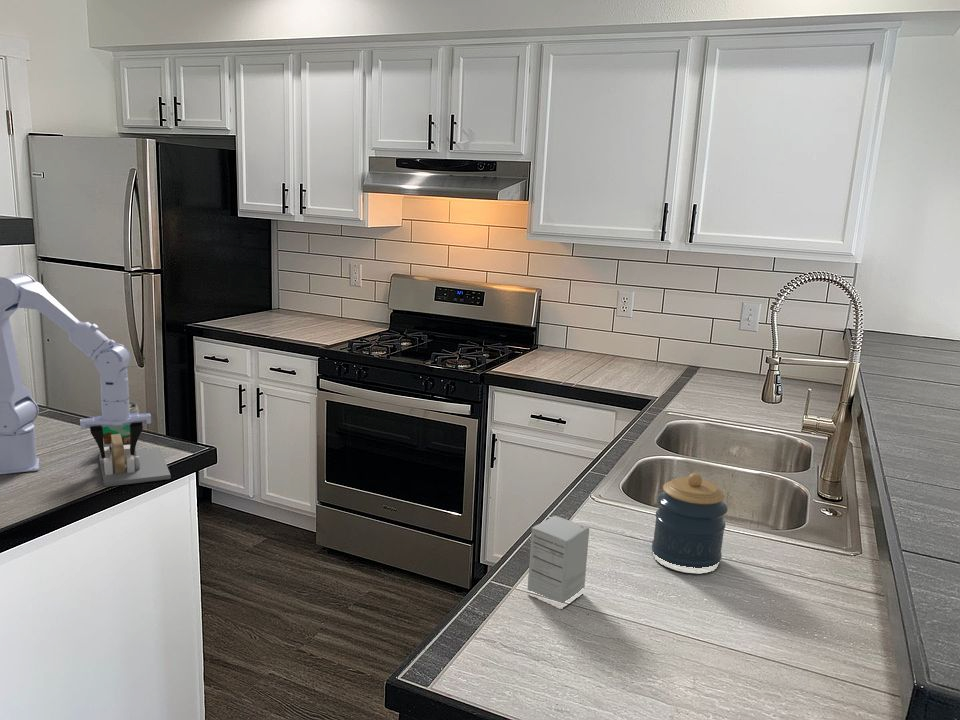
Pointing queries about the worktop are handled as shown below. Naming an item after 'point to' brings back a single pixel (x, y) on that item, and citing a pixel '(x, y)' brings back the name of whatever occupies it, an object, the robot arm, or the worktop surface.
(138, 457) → the board
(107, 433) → the food container
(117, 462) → the oak block
